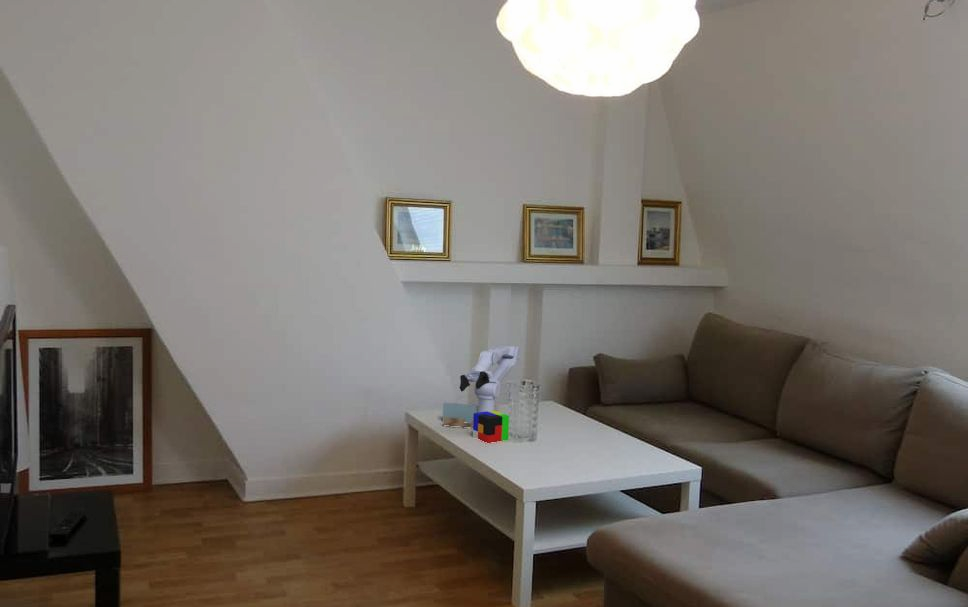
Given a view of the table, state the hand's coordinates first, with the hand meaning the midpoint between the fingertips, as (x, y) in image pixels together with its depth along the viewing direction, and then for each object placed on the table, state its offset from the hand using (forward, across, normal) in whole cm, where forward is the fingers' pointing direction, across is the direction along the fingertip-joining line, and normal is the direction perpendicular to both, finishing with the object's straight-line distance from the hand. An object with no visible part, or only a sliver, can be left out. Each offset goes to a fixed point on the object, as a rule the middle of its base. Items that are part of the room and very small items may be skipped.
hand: (468, 388), depth 373 cm
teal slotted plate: (+1, -11, +15) cm, 19 cm away
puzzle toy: (+17, +10, +15) cm, 25 cm away
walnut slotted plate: (+6, -5, +15) cm, 17 cm away
